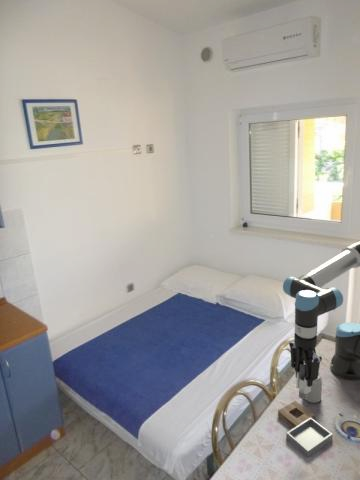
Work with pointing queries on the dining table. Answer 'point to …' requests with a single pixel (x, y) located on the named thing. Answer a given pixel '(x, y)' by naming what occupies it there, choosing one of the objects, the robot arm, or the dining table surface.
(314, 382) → the can
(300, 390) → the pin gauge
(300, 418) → the plate
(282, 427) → the dining table surface
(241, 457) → the dining table surface
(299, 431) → the tray
